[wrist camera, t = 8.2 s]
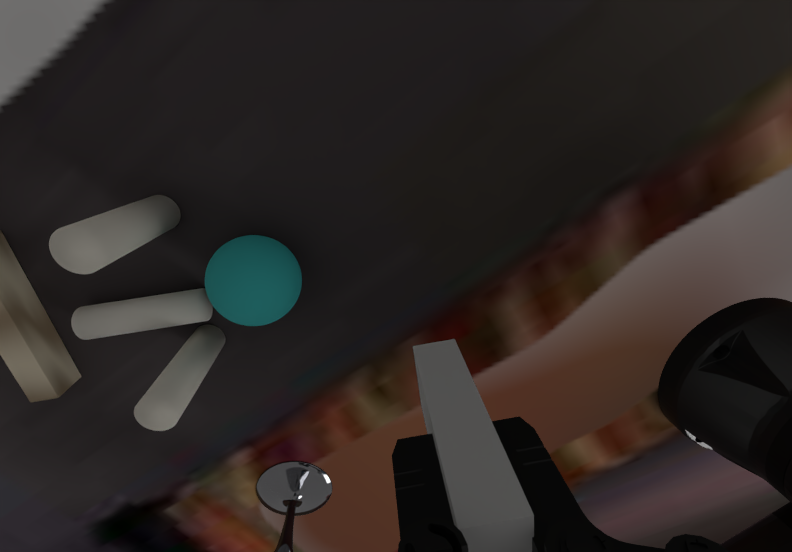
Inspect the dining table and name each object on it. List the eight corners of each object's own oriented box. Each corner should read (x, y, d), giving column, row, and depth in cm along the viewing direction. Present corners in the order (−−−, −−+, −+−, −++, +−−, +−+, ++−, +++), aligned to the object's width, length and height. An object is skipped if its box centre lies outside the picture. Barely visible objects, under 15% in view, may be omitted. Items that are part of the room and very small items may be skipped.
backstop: (81, 376, 30) (58, 397, 28) (55, 381, 30) (30, 402, 28) (0, 230, 25) (-35, 240, 23) (-31, 234, 25) (-69, 245, 23)
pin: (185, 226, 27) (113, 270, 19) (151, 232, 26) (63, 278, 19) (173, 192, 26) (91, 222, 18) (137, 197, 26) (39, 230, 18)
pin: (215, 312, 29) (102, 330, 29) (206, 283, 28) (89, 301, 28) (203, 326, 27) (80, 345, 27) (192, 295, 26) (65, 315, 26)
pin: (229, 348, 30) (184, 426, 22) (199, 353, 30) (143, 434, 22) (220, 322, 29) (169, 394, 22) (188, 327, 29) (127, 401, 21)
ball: (208, 328, 27) (281, 293, 30) (249, 355, 23) (328, 310, 26) (175, 248, 24) (259, 220, 28) (215, 261, 20) (307, 227, 24)
